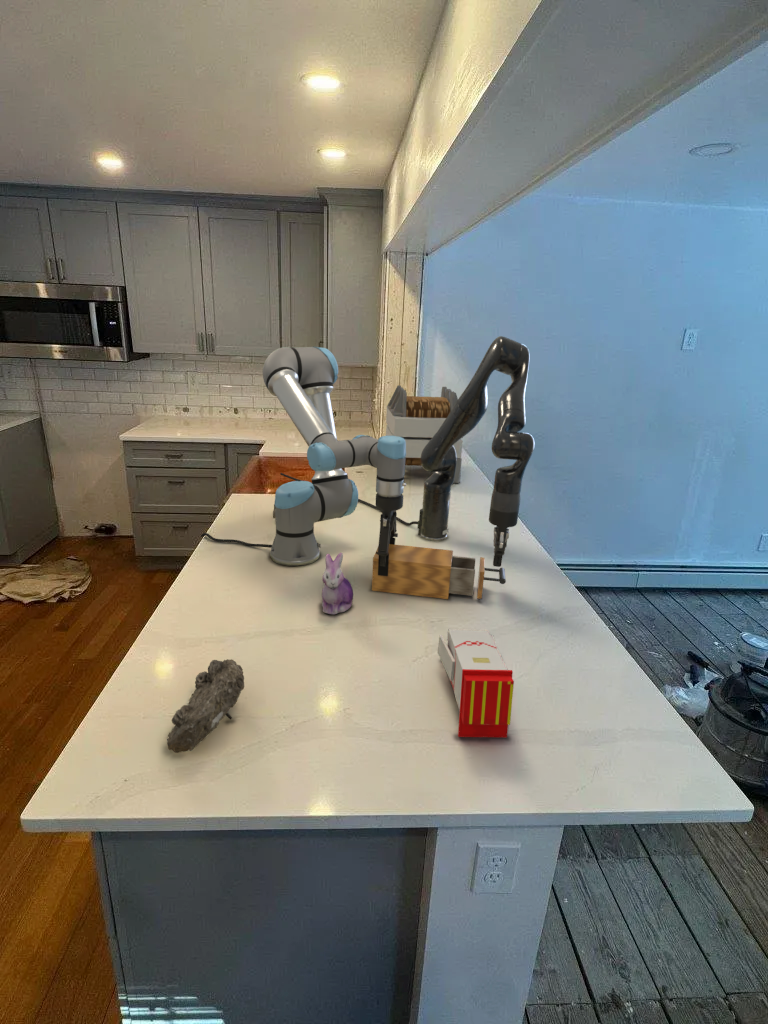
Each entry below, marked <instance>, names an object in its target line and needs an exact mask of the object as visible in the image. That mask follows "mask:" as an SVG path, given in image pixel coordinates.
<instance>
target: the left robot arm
mask: <svg viewBox="0 0 768 1024" xmlns="http://www.w3.org/2000/svg"><path fill="white" fill-rule="evenodd" d="M338 375H339V366H338V362H337V359H336V357H335V355H334V353H332V352H331V351H330V349H328V348H325V347H320V346H319V347H318V346H298V347H297V346H295V347H294V346H293V347H292V346H283V347H279V348H276V349H274V350H273V351H272V352H271V353H269V355H268V356H267V357H266V359H265V361H264V363H263V366H262V379H263V383H264V386H265V387H266V389H267V391H268V392H269V394H270V395H272V396H274V397H276V398H277V399H278V401H279V403H280V404H281V406H282V407H283V410H285V412H286V414H287V415H288V417H289V418H290V420H291V421H292V423H293V424H294V427H296V429H297V431H298V432H299V434H300V436H301V437H302V439H303V440H304V442H305V443H306V445H307V446H308V447H307V451H306V460H307V461H308V465H309V467H310V468H311V470H312V471H314V474H313V476H312V477H311V479H310V480H311V481H308V480H302V481H295V480H293V481H289V482H285V483H283V484H281V485H279V486H278V487H277V489H276V490H275V493H274V503H275V519H274V520H275V536H274V537H273V541H272V544H267V543H251V542H246V541H244V540H243V541H242V540H239V539H231V538H230V539H229V538H216V537H214V536H212V535H211V534H209V533H208V532H203V533H202V534H201V535H200V537H201V538H204V537H205V536H206V537H207V538H209V539H210V540H212V541H214V542H216V543H217V542H218V543H236V544H239V545H244V546H247V547H253V548H254V547H255V548H270V553H269V554H270V559H271V561H273V562H274V563H276V564H278V565H281V566H288V567H300V566H307V565H309V564H312V563H315V562H316V561H317V560H318V559H319V558H320V555H321V553H320V549H321V547H322V546H321V545H322V544H321V543H319V542H317V538H316V535H315V528H314V527H315V523H319V522H323V521H329V520H334V519H341V518H344V517H347V516H350V515H352V514H353V513H354V512H355V511H356V509H357V506H358V503H359V501H358V499H359V489H358V487H357V485H356V483H355V481H354V480H352V479H350V478H349V474H348V473H347V472H346V471H345V470H343V469H346V468H347V469H348V468H355V467H361V466H371V467H373V468H376V476H375V477H376V479H375V492H376V493H375V506H376V507H377V508H379V509H381V510H383V511H382V512H381V514H380V519H379V536H378V546H377V548H378V552H376V551H375V553H376V554H378V555H379V560H378V575H380V576H388V563H389V554H388V550H389V544H394V545H396V538H398V537H399V533H397V520H396V517H397V515H398V514H397V511H399V510H402V508H403V507H404V489H405V487H406V486H407V483H406V482H404V481H405V475H406V474H405V473H406V472H405V471H406V465H405V459H406V441H405V440H404V439H403V438H402V437H399V436H386V435H382V436H380V437H378V438H375V437H373V436H371V435H368V434H366V435H365V434H357V435H356V436H354V437H353V438H352V439H342V440H341V439H340V440H338V437H337V432H336V425H335V417H334V413H333V407H332V401H331V393H332V391H333V390H334V384H335V383H336V382H337V381H338Z"/></svg>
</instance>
